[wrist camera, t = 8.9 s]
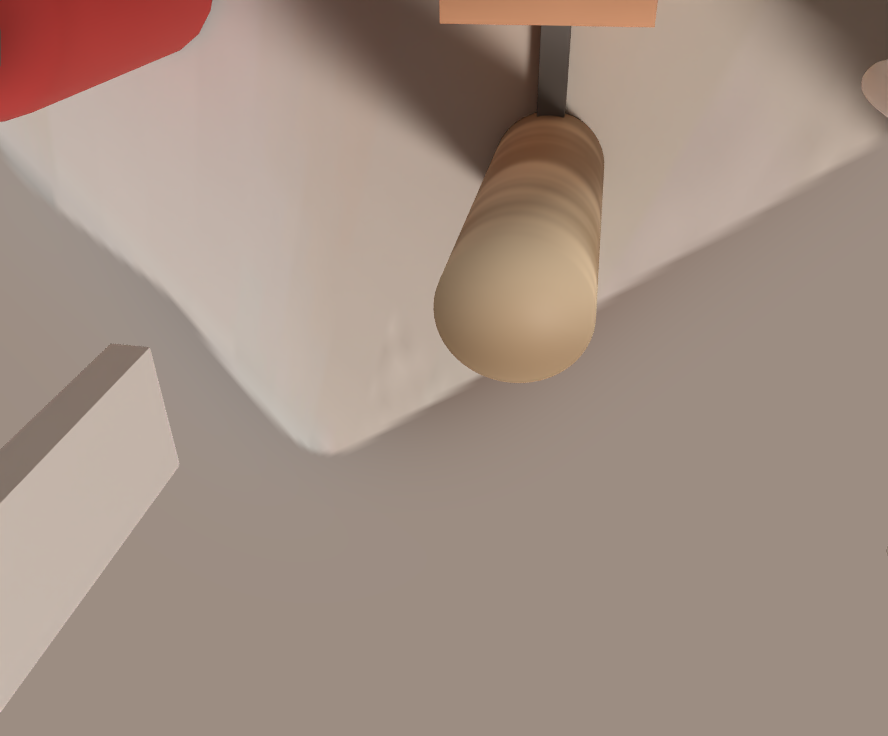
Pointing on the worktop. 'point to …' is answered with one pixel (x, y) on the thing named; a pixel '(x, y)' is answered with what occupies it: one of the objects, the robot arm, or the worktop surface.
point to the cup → (877, 86)
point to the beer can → (84, 44)
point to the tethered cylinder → (532, 212)
